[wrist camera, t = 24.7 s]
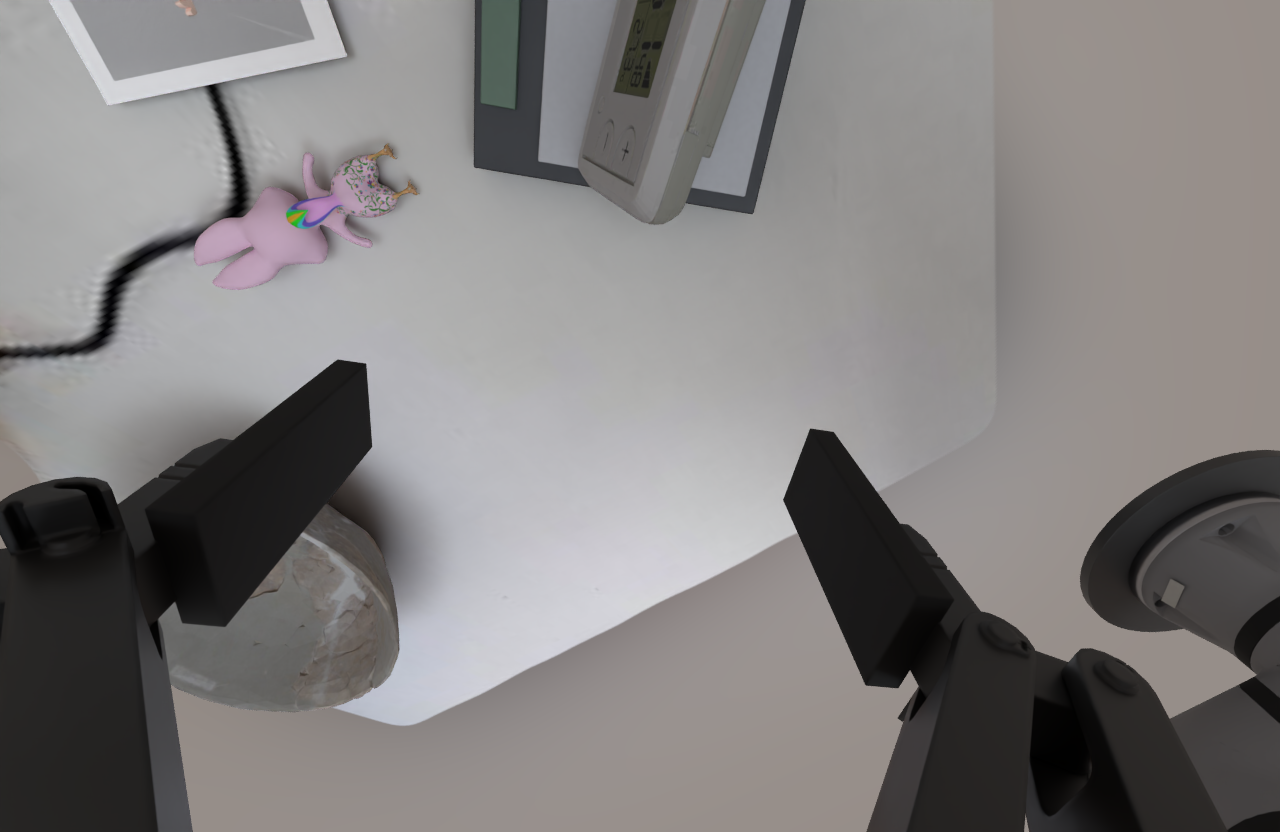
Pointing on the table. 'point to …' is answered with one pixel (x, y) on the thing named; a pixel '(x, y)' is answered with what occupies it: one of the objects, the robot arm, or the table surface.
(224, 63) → the touchpad
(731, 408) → the table surface
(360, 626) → the ceramic bowl
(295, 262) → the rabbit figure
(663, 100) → the digital clock
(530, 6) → the scale
